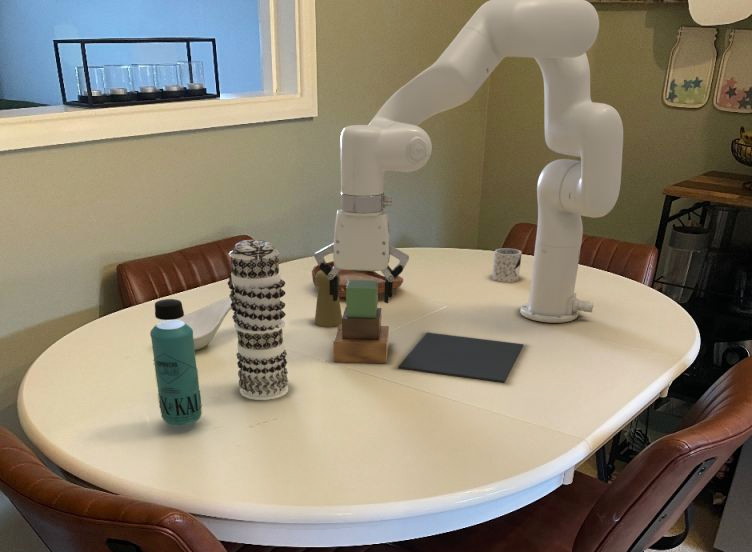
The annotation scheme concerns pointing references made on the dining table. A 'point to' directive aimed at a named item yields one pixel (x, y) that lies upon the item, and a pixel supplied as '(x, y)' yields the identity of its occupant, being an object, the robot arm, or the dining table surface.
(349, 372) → the dining table surface
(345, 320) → the walnut block
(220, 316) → the spoon rest
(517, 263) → the mug
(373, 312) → the green block
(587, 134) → the robot arm
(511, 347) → the mat
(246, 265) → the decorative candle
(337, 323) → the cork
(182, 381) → the beverage bottle
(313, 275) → the wooden bowl
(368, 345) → the oak block
